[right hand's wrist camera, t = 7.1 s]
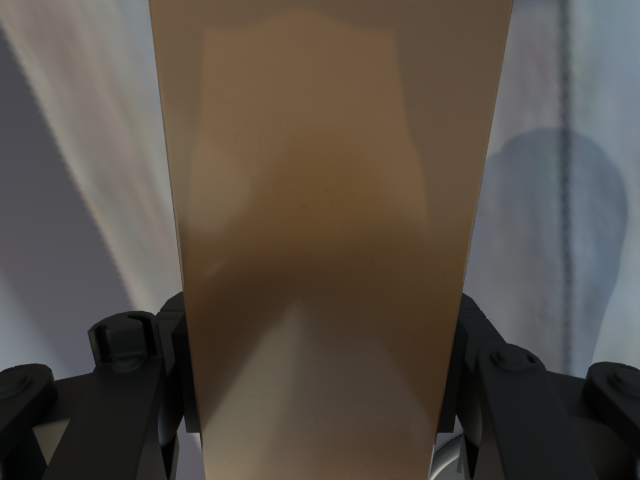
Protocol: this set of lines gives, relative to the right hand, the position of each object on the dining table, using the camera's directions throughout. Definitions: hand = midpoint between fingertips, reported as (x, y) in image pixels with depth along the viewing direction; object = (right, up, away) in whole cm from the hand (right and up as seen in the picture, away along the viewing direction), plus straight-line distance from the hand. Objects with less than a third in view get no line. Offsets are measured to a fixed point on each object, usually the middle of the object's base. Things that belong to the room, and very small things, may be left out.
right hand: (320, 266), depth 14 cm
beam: (+1, +33, -11) cm, 35 cm away
